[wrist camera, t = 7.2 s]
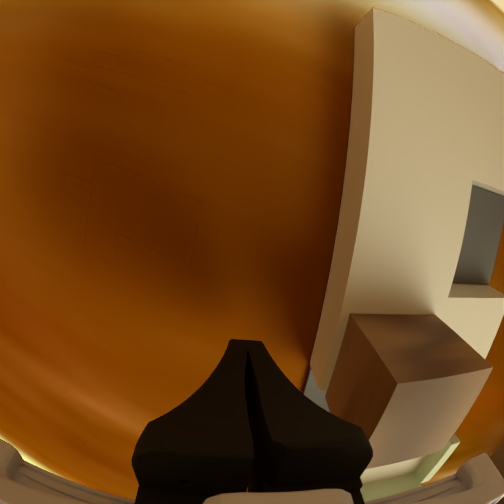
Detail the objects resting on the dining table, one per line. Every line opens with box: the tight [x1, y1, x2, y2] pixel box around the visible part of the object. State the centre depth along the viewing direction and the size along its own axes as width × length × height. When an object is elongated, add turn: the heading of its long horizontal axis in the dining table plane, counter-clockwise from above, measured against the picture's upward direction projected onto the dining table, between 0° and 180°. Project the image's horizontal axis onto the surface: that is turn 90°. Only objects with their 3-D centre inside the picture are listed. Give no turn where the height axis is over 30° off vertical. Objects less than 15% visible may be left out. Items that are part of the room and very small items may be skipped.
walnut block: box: [325, 313, 493, 469], centre depth 11 cm, size 5×5×5 cm
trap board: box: [303, 8, 504, 502], centre depth 14 cm, size 14×31×5 cm, turn 174°
